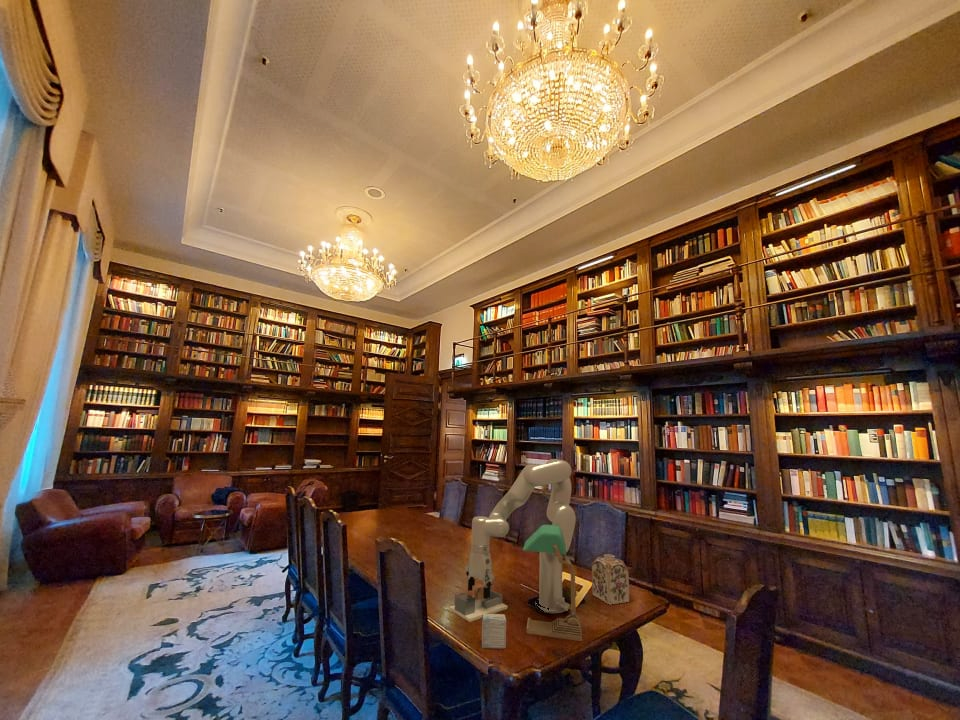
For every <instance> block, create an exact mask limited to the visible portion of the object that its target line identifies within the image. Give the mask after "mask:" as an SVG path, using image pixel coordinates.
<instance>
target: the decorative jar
mask: <svg viewBox="0 0 960 720" xmlns="http://www.w3.org/2000/svg"><path fill="white" fill-rule="evenodd" d="M629 577H630V576H629V569H628V567H627V565H626V564H625V562H624V561H623V560H621V559H618V558H616V557H615V555H613V554H610V553H608V554H607V553H606V554H603V556H598V557H596V558H595V560H594V561H593V562H592V563H591V589H592V596H593V597H595V598H597V599H598V600H600V601H602V602H603V601H604V603H605V604H607V605H608V604H609V606H611V605H612V604H613V605H618V604H619V603H620V604H626V602H627V603H630V581H629Z"/></svg>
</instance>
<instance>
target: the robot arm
mask: <svg viewBox="0 0 960 720" xmlns="http://www.w3.org/2000/svg"><path fill="white" fill-rule="evenodd" d="M571 475H572V466H571V465H570V464H569V463H568V461H566V460H563V459H558V458H557V459H556V458H551V459H549V460H547V461H546V462H545V463H544V464H540V465H539V464H538V465H536V464H527V465H526V466H524V468H523V469H522V470H521V472H520V473H519V475H518V476H517V478H516V480H515V481H514V482H513V484H512V485H511V486H510V488H509V490H508V491H507V493H506V494H504V496H503V497H502V498H501V499H500V500H499V501H498V503H496V505H495V507H494V508H493V510H492V511H491V512H490V514H489V516H488V517H487V516H484V515H483V516H482V515H481V516H480V515H479V516H474V517H473V518H472V521H471V539H470V540H471V543H470V544H471V545H470V546H471V547H470V554H469V561H468V564H467V565H466V566H465V571H466V572H465V575H467V576H466V577H467V578H466V579H467V591H468V592H471V591H472V586H474V585H476V580H479V581H481V582H482V585H484V586H485V587H484V588H483V598H484V599H486V598H489V597H490V590H491V588H492V586H493V584H494V581H495V580H496V579H495V578H496V577H495V576H494V574H493V572H492V569H493V568H492V566H493V565H492V556H491V553H490V537H494V538H503V537H505V536H507V534H508V533H509V531H510V525H509V523H508V521H507V519H508V518H509V516H510V515H511V514H512V513H513V512H514V511H515V510H516V509H517V508H520V507H521V506H523V505H525V504H526V502H527V501H528V499H529V497H530V496H531V494H532V493H533V491H534V489H535V488H536V487H543V486H548V485H552V486H551V491H550V496H549V500H548V504H547V508H546V517H547V519H548V520H549V521H550V522H551V523H552V524H551V525H557V526H559V527H560V528H561V530H562V534H563V537H564V541H565V544H566V554H567V553H568V551H569V550H570V547H571V543H572V540H573V536H574V530H575V527H576V526H575V525H576V519H577V517H576V513H575V511H574V509H573V508H572V506H571V505H570V502H571V497H572V496H571V495H572V482H571V479H570V477H571ZM538 553H539V554H538V555H539V556H538V557H539V571H538V573H539V577H538V578H539V579H538V580H539V581H538V582H539V588H538V589H539V591H538V592H539V594H538V595H539V596H538V597H539V598H538V600H539V604H540V605H541V606H543V607H545V608H543V607H540V606H538V605H537V606H538V607H539V608H540V609H541V610H543V611H544V612H543V611H542V612H543V613H548V614H561V613H564V612H567V611H569V607H570V603H568V602H566V601H565V597H564V596H563V564H562V563H560V562H559V561H558V558H557V555H556V554H555V553H545V552H538ZM561 556H562V555H561ZM536 604H537V603H536V602H535V605H536ZM547 608H549V610H548V609H547ZM541 610H540V611H541Z"/></svg>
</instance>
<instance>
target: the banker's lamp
mask: <svg viewBox="0 0 960 720" xmlns="http://www.w3.org/2000/svg"><path fill="white" fill-rule="evenodd" d="M522 551H525V552H526V551H527V552H537V553H539V552H545V553H555V554H556V555H557V558H558V561H559V562H560V563H562V565H566V566H567V567H568V570H569V573H570V614H569V615H567V616H565V618H562V617H557V618H556V619H555V620H552V621H544V620H535V619H531V617H528V618H527V623H526V631H525V632H526V634H528V635H535V636H542V637H548V638H557V639H563V640H570V641H577V642H583V633H582V632H583V631H582V625H581V620H580V619H581V618H580V616H579V615H577V614H576V613H577V612H576V610H577V609H576V573H575V568H574V566H573V564H572V562H571V560H570V559H569V557H568V556H567V553H566V544H565V541H564V537H563V534H562V530H561V528H560V527H559V526H557V525H552V524H542V525H541V526H539V527H538V528H537V529H536V531H534V533H532V535H530V536H529V537H528V538H527V539H526V541H525V542H524V546H523V548H522ZM561 555H562V556H561Z"/></svg>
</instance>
